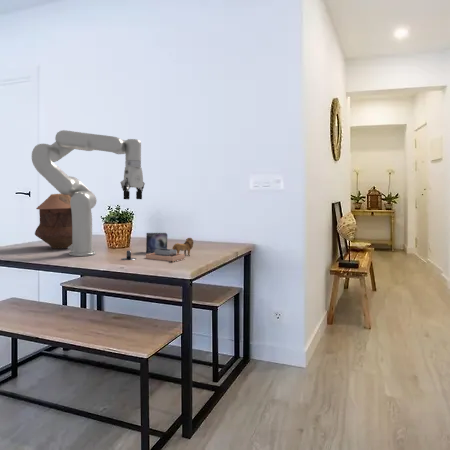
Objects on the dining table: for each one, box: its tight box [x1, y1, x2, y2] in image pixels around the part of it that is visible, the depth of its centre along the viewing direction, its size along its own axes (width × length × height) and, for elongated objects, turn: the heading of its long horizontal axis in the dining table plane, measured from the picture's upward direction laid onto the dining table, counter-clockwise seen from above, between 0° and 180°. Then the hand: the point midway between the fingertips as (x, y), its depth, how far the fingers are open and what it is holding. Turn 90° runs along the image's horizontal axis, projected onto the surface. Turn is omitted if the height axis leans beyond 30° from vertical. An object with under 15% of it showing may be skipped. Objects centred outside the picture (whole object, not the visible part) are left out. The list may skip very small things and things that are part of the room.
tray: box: [145, 252, 186, 263], centre depth 194 cm, size 15×10×2 cm
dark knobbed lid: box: [121, 250, 137, 261], centre depth 190 cm, size 7×7×4 cm
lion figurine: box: [172, 237, 194, 256], centre depth 204 cm, size 15×5×9 cm, turn 140°
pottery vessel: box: [34, 193, 72, 249], centre depth 224 cm, size 26×26×30 cm
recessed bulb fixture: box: [155, 248, 177, 257], centre depth 194 cm, size 6×9×4 cm, turn 64°
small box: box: [145, 232, 168, 254], centre depth 213 cm, size 11×6×10 cm, turn 105°
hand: (132, 199), depth 203 cm, fingers open, 9 cm apart
